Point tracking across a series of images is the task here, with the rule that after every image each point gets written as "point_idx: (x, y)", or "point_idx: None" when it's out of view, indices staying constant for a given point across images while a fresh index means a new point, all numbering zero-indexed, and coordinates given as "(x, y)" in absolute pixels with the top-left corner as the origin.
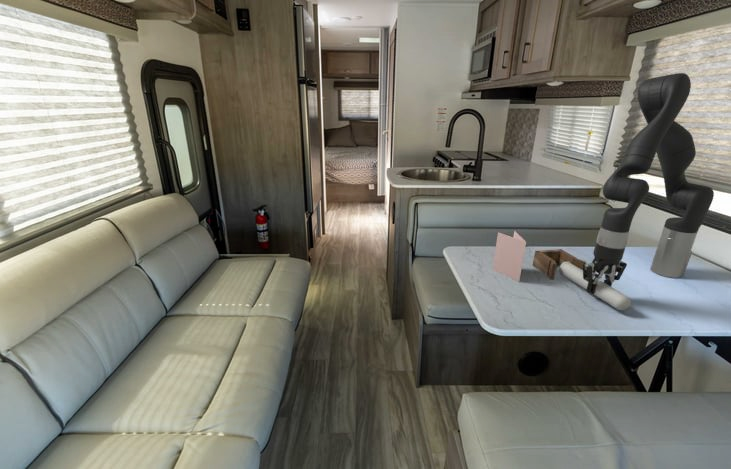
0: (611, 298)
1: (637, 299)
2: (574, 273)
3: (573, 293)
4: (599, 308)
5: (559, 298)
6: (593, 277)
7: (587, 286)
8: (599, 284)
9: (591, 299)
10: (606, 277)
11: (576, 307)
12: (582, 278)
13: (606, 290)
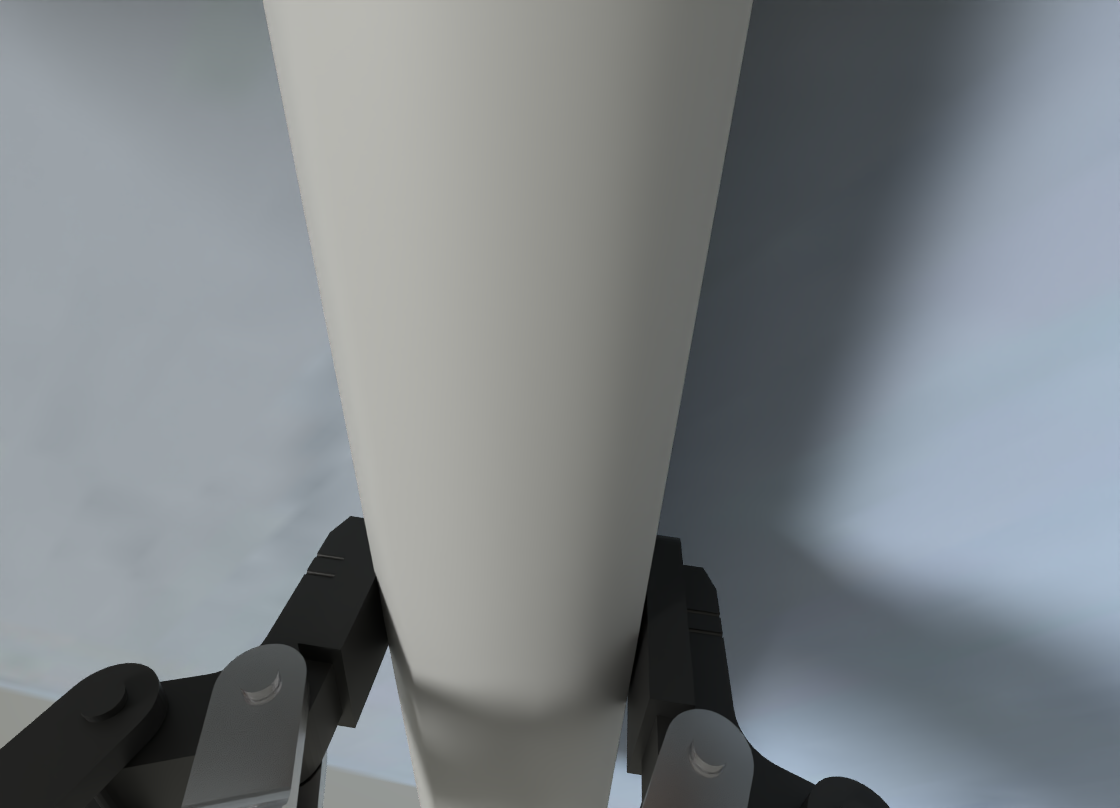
0: (417, 790)
1: (1003, 631)
2: (294, 124)
3: (308, 312)
4: None
5: (41, 358)
6: (500, 592)
7: (306, 574)
8: (418, 726)
9: None
10: (668, 778)
11: (170, 537)
12: (348, 415)
13: (426, 782)
